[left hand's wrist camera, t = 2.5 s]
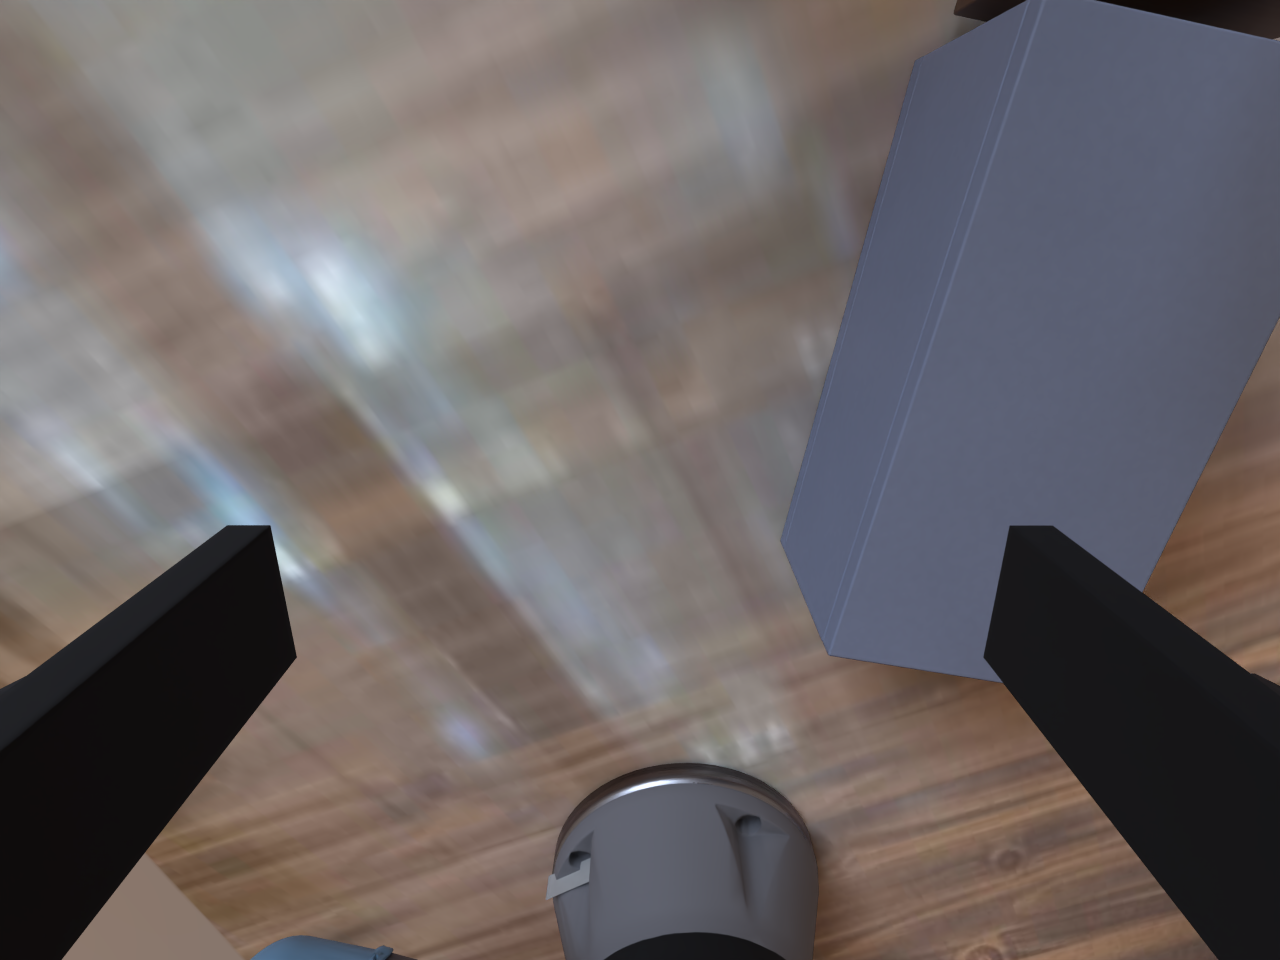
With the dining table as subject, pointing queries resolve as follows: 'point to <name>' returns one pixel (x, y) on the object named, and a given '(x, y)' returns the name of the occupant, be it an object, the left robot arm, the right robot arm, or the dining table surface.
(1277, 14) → the drawer
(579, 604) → the dining table surface
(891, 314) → the cabinet
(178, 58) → the dining table surface
